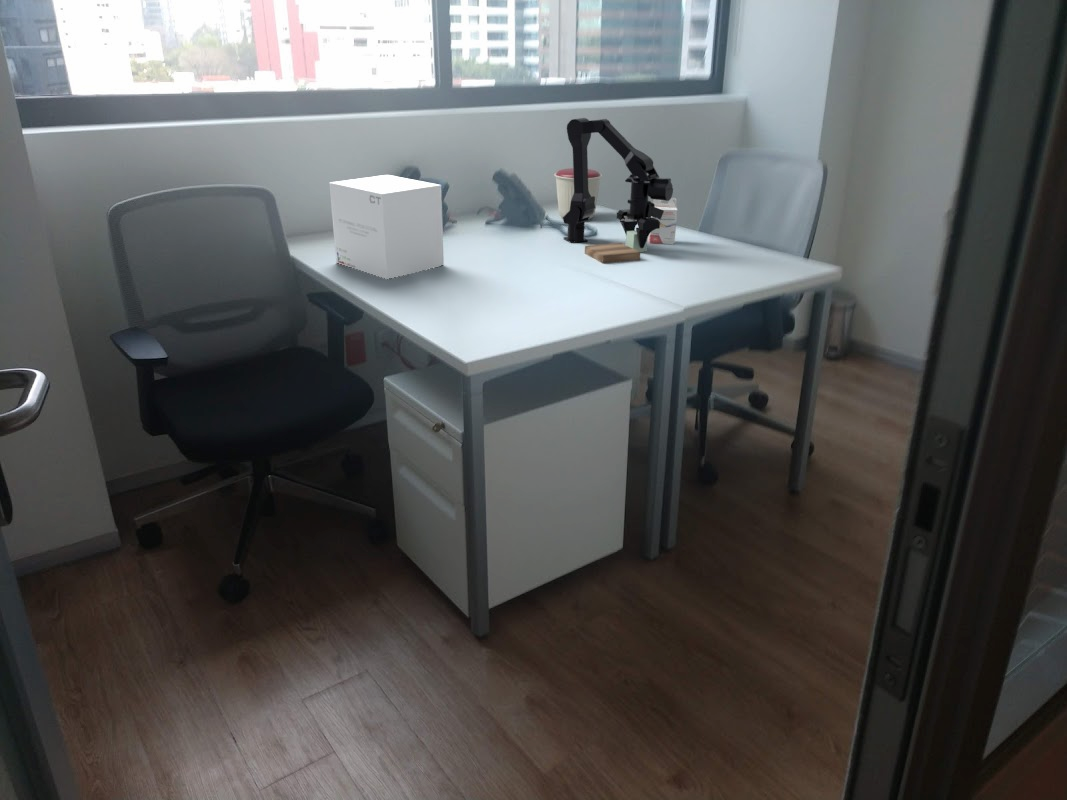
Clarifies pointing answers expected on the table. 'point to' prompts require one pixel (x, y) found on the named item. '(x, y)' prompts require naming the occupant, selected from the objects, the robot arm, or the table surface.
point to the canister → (567, 188)
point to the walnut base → (612, 253)
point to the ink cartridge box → (665, 223)
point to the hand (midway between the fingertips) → (636, 245)
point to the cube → (387, 225)
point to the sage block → (634, 241)
